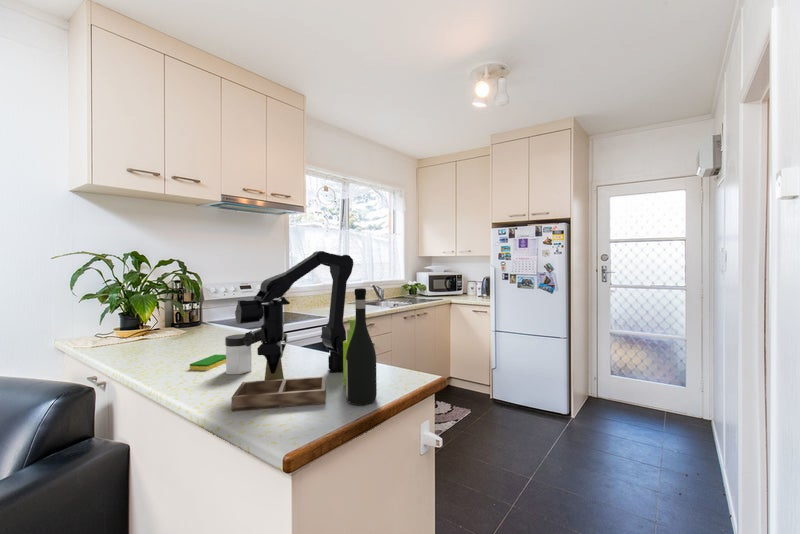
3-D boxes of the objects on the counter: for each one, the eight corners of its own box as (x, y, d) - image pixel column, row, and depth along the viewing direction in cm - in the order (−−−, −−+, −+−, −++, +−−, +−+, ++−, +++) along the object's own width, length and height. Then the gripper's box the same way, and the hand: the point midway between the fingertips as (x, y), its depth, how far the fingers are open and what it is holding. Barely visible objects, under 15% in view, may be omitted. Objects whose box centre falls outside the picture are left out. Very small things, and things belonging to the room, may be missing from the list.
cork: (287, 381, 115) (287, 346, 114) (279, 387, 109) (279, 350, 108) (269, 380, 115) (268, 345, 115) (260, 387, 109) (259, 350, 109)
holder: (325, 388, 108) (325, 376, 108) (325, 403, 96) (325, 390, 96) (242, 394, 104) (242, 381, 103) (231, 411, 92) (231, 397, 92)
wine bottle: (340, 402, 97) (338, 289, 96) (358, 393, 103) (357, 287, 103) (364, 408, 92) (363, 290, 92) (382, 398, 99) (381, 288, 99)
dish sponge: (188, 371, 128) (188, 364, 128) (214, 360, 142) (214, 354, 142) (207, 371, 127) (207, 364, 127) (231, 360, 141) (231, 354, 141)
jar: (252, 372, 124) (252, 337, 123) (226, 376, 120) (225, 339, 120) (250, 366, 132) (250, 332, 132) (225, 369, 128) (225, 335, 128)
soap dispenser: (368, 381, 113) (367, 317, 113) (356, 388, 107) (355, 320, 107) (352, 379, 116) (351, 316, 116) (339, 386, 110) (338, 319, 109)
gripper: (251, 316, 119) (252, 364, 119) (237, 326, 101) (238, 383, 101) (287, 315, 121) (287, 362, 122) (279, 324, 103) (280, 380, 103)
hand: (274, 371), depth 112 cm, fingers closed on cork, 4 cm apart
